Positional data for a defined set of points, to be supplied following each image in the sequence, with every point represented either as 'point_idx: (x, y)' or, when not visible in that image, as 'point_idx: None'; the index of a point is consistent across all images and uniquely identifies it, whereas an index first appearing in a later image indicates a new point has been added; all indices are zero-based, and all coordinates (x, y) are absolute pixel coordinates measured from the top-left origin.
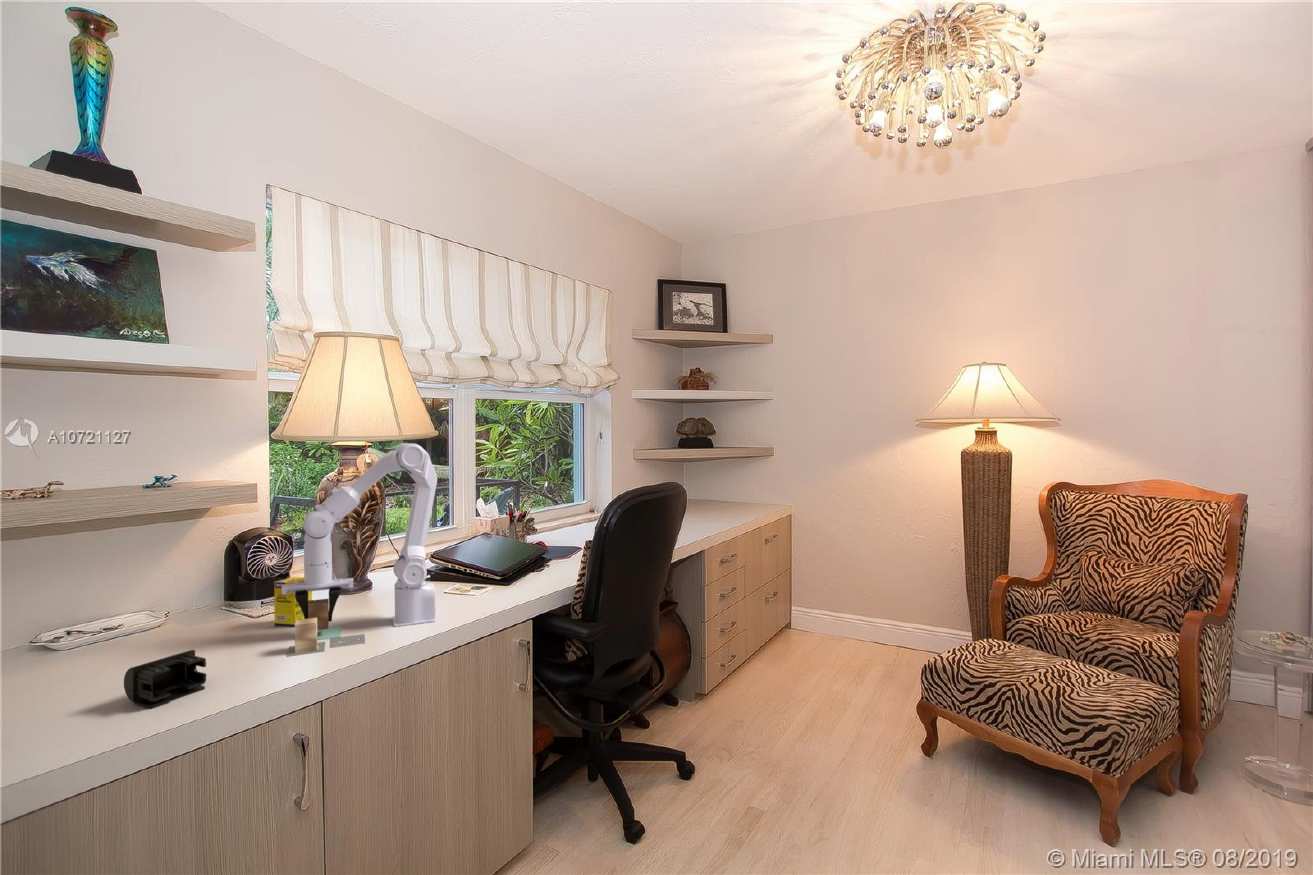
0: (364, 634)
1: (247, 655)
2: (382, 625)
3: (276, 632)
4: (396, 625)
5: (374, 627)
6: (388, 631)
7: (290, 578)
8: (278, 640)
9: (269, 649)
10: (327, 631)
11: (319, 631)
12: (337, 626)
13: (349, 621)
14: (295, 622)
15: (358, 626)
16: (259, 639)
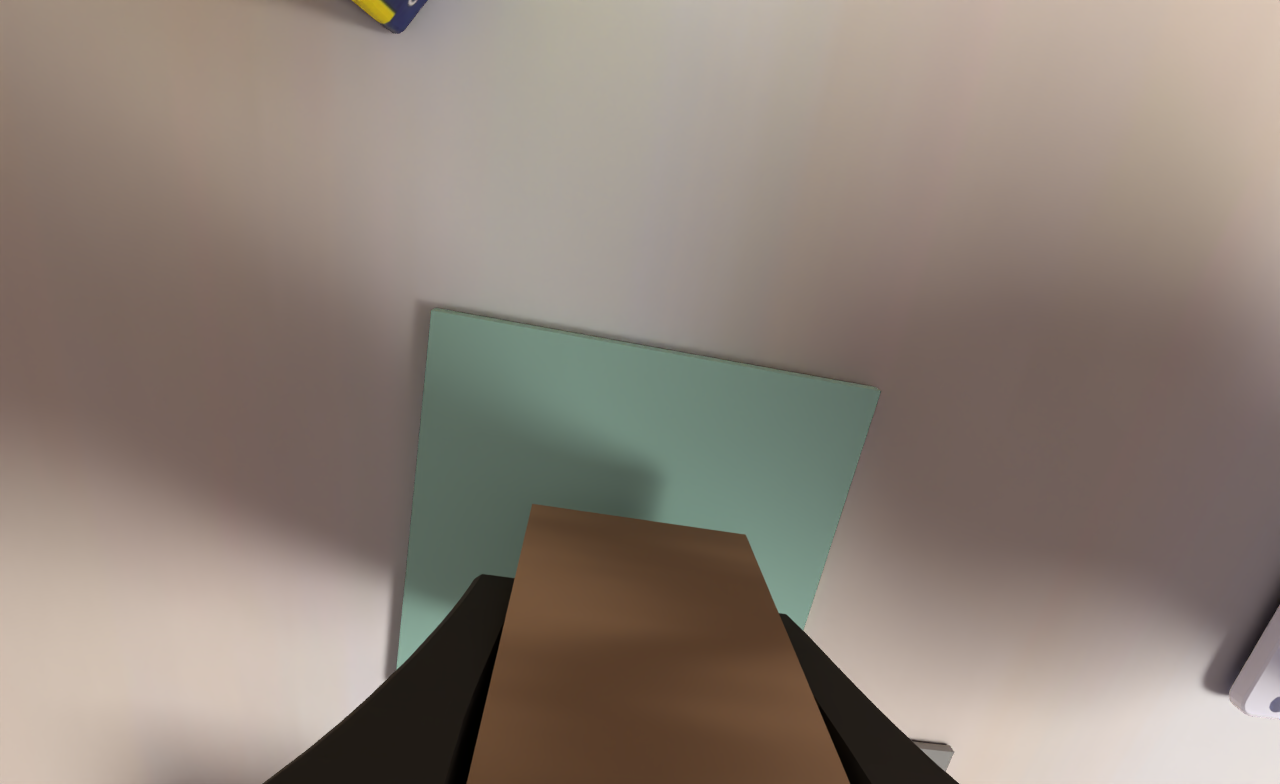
0: (947, 764)
1: (15, 764)
2: (1189, 567)
3: (177, 117)
4: (1249, 713)
5: (1107, 587)
6: (1128, 754)
7: None
8: (237, 483)
9: (183, 707)
10: (710, 520)
11: (641, 469)
12: (843, 395)
13: (1030, 193)
14: (385, 6)
15: (1017, 466)
16: (12, 317)
